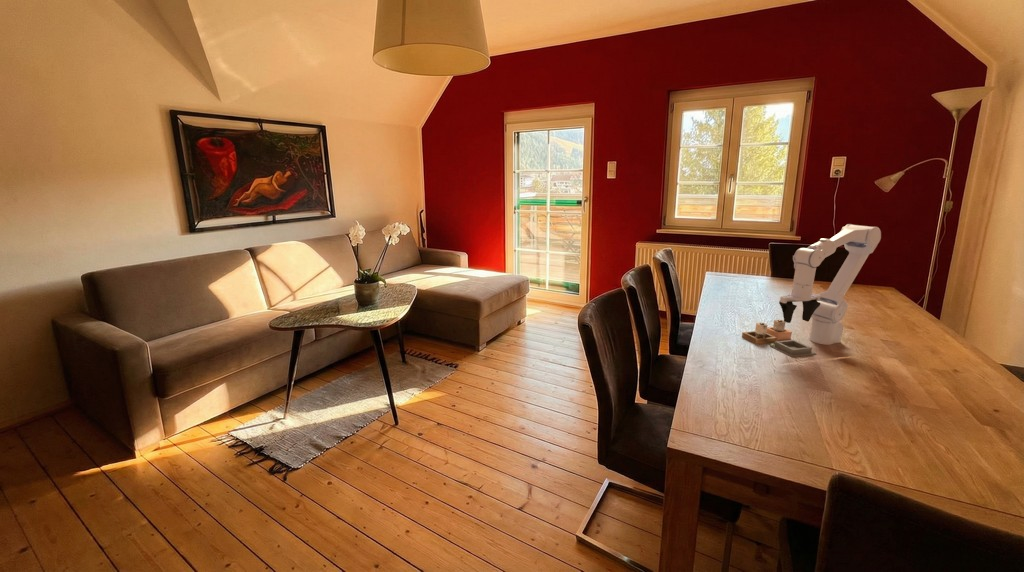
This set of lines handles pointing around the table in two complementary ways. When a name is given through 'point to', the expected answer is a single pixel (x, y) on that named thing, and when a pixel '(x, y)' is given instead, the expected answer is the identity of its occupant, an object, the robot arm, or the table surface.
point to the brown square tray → (755, 340)
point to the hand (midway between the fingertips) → (796, 321)
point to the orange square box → (779, 333)
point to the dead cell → (779, 325)
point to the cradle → (793, 348)
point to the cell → (760, 330)
